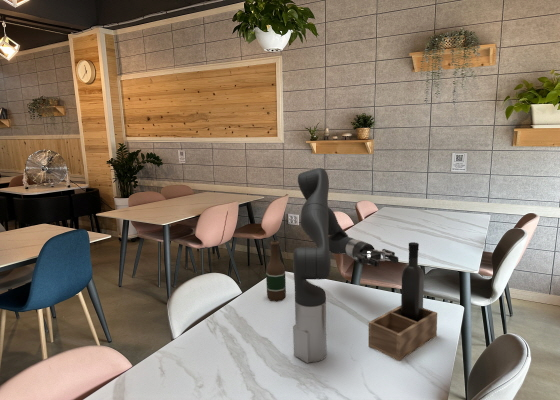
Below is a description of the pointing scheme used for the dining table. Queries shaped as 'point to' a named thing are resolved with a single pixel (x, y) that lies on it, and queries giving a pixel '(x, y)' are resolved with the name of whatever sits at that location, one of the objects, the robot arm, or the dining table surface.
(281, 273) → the beer bottle
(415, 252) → the wine bottle
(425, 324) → the bottle rack
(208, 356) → the dining table surface
